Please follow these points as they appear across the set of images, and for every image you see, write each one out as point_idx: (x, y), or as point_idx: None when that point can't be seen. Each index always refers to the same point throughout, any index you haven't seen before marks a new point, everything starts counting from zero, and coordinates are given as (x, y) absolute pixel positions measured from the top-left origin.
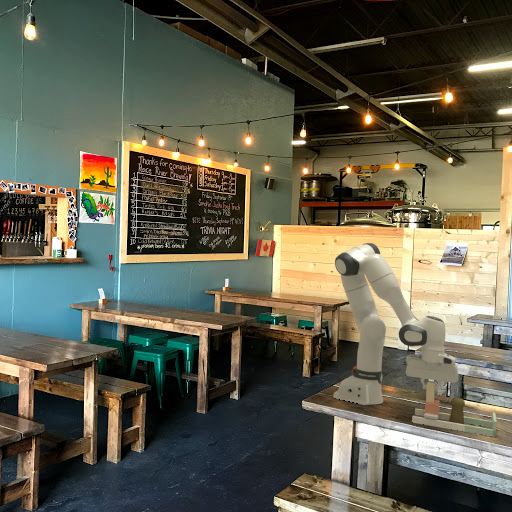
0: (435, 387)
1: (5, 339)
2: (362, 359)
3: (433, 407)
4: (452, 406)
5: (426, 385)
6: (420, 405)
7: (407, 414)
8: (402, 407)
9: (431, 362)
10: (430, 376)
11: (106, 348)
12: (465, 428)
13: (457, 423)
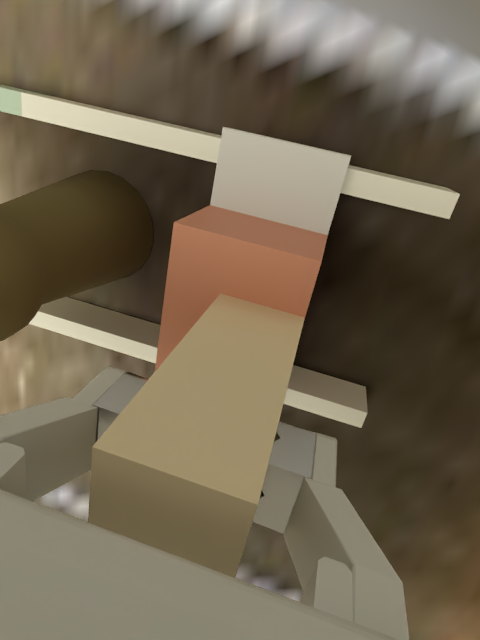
0: (122, 408)
1: None
2: None
3: (236, 229)
4: (44, 259)
5: (270, 480)
6: (284, 555)
7: (426, 384)
8: (420, 515)
9: None
10: (107, 631)
11: None
12: (31, 92)
13: (73, 125)
